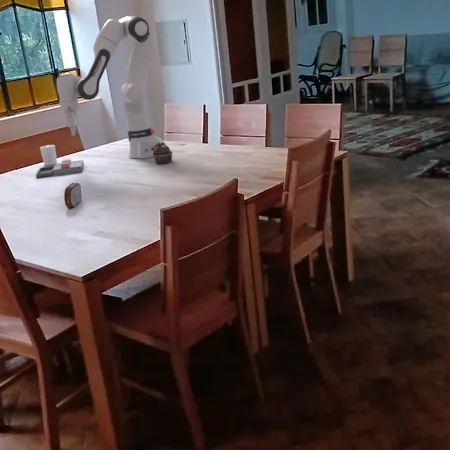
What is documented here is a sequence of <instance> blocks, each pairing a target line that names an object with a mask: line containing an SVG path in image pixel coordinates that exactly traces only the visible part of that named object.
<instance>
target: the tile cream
mask: <svg viewBox="0 0 450 450" xmlns="http://www.w3.org/2000/svg"><path fill="white" fill-rule="evenodd" d="M62 162H70V164H71V162H72V160H71V158H65V159H64V158H63V159H62V161H61V163H62Z"/></svg>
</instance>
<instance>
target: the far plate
mask: <svg viewBox="0 0 450 450" xmlns="http://www.w3.org/2000/svg"><path fill="white" fill-rule="evenodd" d="M61 163H62V162H59V163H58V162H57V164H54V166H55V167H54V169H53V173H54V175H53V177H54V176H55V177H56V176H63V175H70V174H75V173H76V174H77V173H83V171H84V167H85V163H84V159H81V160H73V161H72V160H71V164H70V167H65V168H61Z"/></svg>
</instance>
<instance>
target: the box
mask: <svg viewBox="0 0 450 450" xmlns="http://www.w3.org/2000/svg"><path fill="white" fill-rule="evenodd" d="M54 167H55V165H49V166H44V167H40V168H39V169H38V170H37V172H36V174H35V175H36V176H35V177H36V179H42V178H49V177H54V173H53V169H54Z"/></svg>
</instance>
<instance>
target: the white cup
mask: <svg viewBox="0 0 450 450" xmlns="http://www.w3.org/2000/svg"><path fill="white" fill-rule="evenodd" d="M39 150H40V153H41V157H42V161H43V164H44V166H45V165H47V166H46V167H50V166H55V165H56V164H57V163H58V158H57V157H58V156H57V151H56V145H55V144H47V145H43V146H40V149H39Z"/></svg>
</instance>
